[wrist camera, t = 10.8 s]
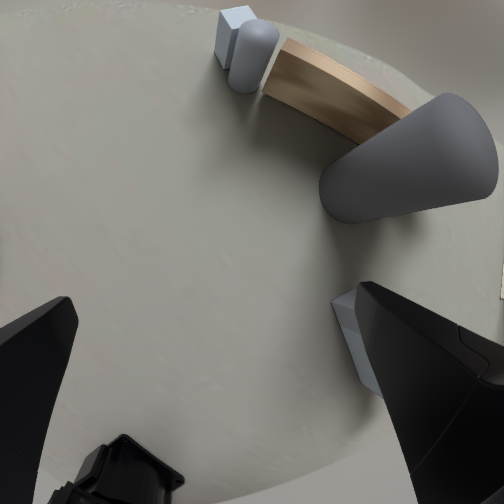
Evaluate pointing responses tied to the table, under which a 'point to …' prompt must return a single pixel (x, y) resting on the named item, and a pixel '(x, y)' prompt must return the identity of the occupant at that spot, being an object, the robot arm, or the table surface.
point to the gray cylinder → (414, 165)
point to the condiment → (503, 288)
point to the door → (331, 93)
